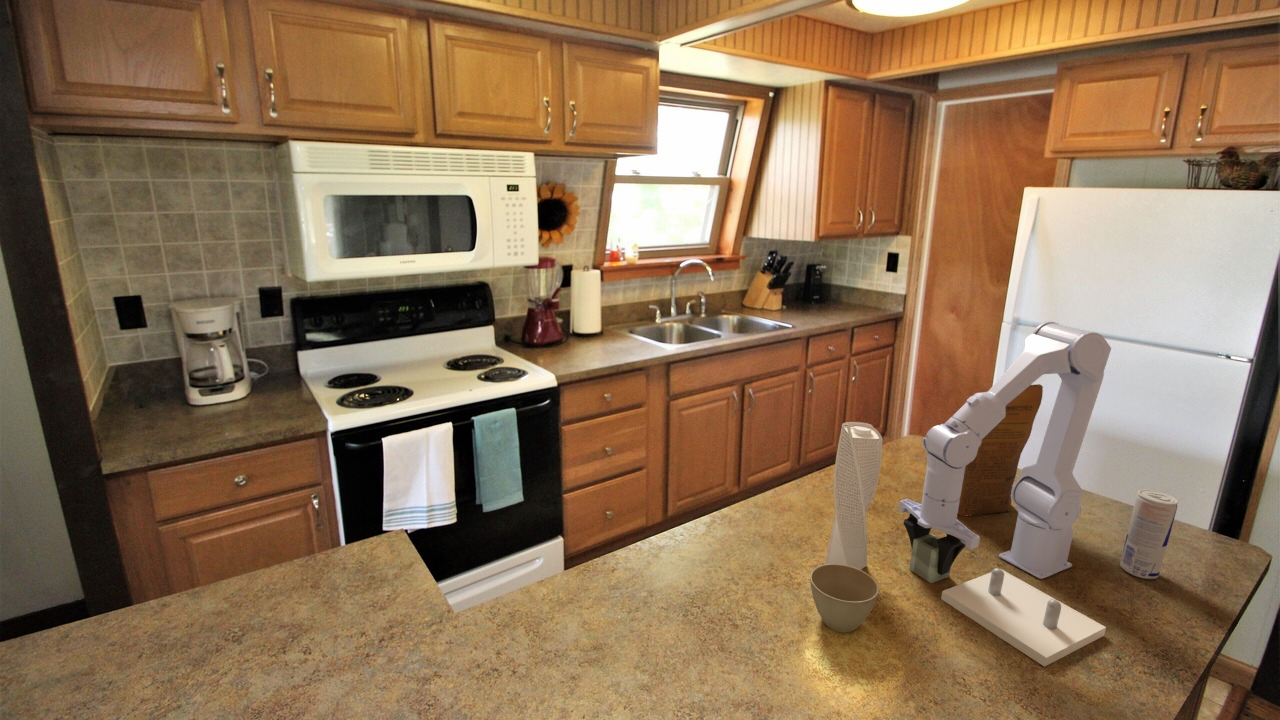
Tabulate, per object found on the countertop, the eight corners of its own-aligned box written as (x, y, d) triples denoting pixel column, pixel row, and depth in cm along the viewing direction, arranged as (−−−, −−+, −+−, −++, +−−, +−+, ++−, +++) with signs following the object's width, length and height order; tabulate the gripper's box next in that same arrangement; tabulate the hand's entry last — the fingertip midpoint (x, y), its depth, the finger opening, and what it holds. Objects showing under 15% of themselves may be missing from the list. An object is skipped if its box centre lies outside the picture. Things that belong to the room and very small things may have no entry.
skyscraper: (851, 584, 108) (871, 430, 100) (814, 564, 113) (830, 417, 106) (875, 567, 113) (895, 419, 105) (838, 549, 118) (855, 408, 111)
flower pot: (872, 609, 101) (878, 570, 99) (873, 651, 92) (879, 608, 90) (808, 596, 104) (813, 557, 102) (803, 634, 95) (807, 593, 93)
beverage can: (1165, 583, 110) (1186, 505, 106) (1129, 578, 111) (1148, 501, 107) (1147, 565, 115) (1166, 490, 111) (1113, 561, 116) (1131, 486, 112)
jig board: (998, 576, 111) (1004, 546, 109) (1103, 635, 96) (1112, 602, 95) (941, 599, 104) (946, 567, 103) (1044, 666, 89) (1052, 631, 88)
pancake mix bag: (1032, 514, 133) (1057, 387, 126) (954, 523, 129) (976, 392, 121) (1007, 499, 139) (1030, 378, 132) (932, 507, 135) (952, 382, 128)
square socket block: (927, 563, 114) (931, 533, 113) (949, 576, 110) (954, 546, 109) (909, 569, 112) (913, 539, 111) (931, 583, 108) (936, 552, 107)
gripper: (890, 481, 112) (881, 549, 115) (964, 518, 99) (951, 593, 103) (918, 474, 115) (908, 540, 118) (992, 509, 102) (979, 582, 106)
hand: (930, 564), depth 111 cm, fingers closed on square socket block, 5 cm apart
